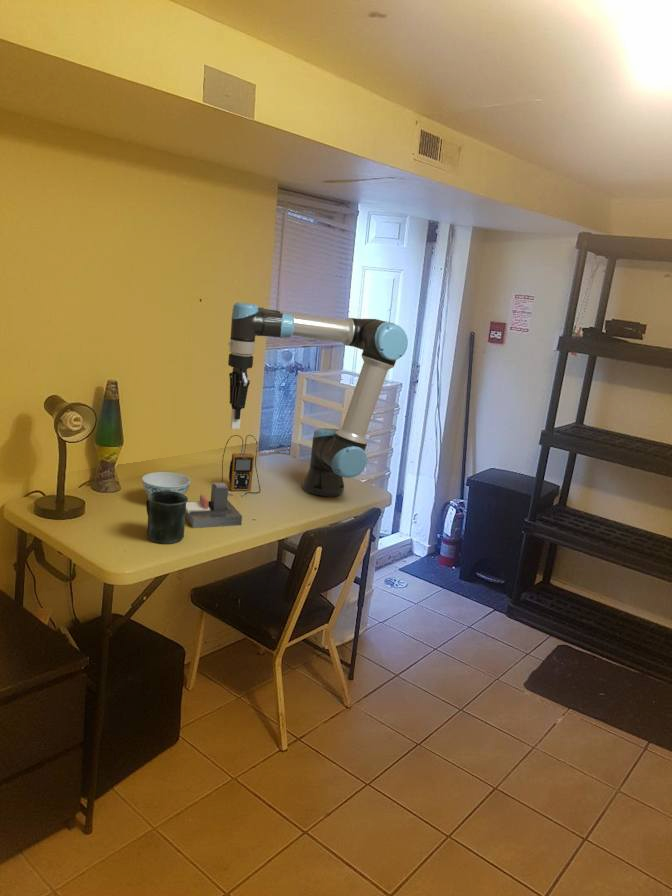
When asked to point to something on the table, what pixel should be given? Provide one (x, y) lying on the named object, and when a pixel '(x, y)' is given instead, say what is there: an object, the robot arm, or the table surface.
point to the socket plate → (214, 517)
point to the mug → (166, 516)
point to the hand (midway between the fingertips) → (235, 428)
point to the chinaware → (165, 482)
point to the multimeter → (241, 470)
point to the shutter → (198, 505)
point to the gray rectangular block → (219, 496)
